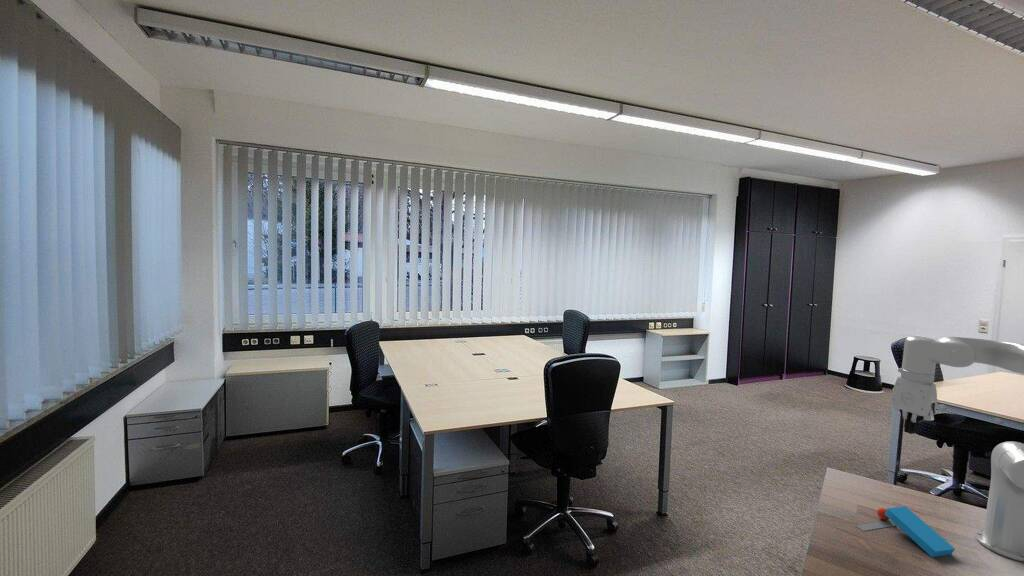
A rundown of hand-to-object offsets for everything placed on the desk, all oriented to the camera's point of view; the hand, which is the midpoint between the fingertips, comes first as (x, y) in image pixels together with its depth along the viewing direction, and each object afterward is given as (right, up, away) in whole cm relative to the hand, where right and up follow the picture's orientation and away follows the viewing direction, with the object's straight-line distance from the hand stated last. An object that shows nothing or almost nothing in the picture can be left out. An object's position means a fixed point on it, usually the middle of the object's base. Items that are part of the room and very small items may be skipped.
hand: (910, 432), depth 137 cm
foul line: (-7, -29, 0) cm, 30 cm away
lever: (-5, -30, -5) cm, 31 cm away
